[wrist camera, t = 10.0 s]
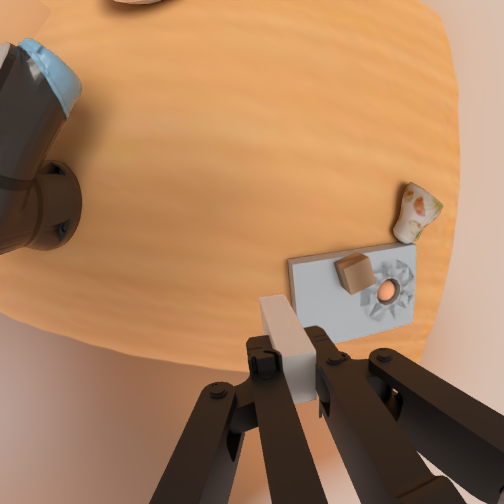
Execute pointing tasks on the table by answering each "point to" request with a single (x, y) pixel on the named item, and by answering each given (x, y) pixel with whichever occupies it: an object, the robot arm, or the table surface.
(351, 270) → the walnut cube
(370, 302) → the grey flat block
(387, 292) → the ball
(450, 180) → the table surface
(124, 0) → the bowl
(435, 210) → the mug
